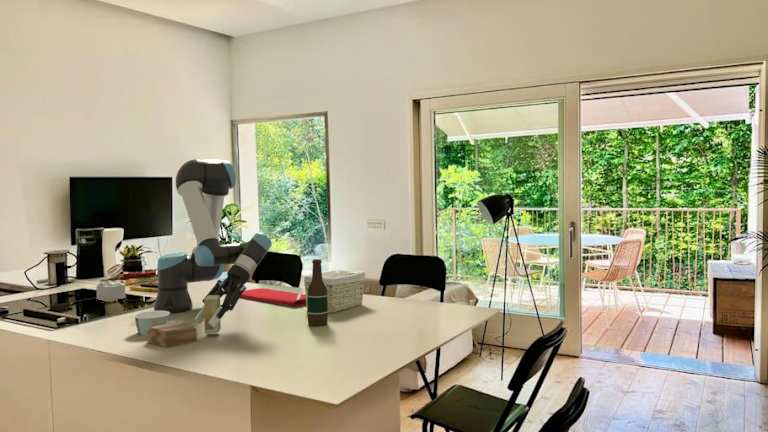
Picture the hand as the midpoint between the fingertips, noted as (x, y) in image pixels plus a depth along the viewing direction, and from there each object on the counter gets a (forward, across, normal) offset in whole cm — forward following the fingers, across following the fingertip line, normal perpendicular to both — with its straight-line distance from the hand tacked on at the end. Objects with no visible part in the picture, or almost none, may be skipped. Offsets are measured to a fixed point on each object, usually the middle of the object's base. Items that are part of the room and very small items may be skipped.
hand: (204, 323), depth 196 cm
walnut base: (+10, +4, +4) cm, 11 cm away
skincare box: (0, 0, -5) cm, 5 cm away
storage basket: (-41, -3, -48) cm, 63 cm away
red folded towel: (-38, +30, -47) cm, 68 cm away
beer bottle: (-22, -18, -29) cm, 41 cm away
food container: (+8, +21, +1) cm, 23 cm away
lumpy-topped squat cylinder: (-7, +93, -16) cm, 95 cm away
